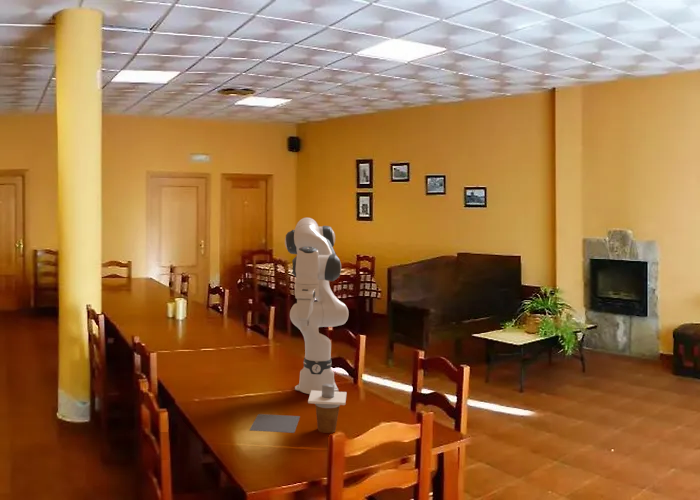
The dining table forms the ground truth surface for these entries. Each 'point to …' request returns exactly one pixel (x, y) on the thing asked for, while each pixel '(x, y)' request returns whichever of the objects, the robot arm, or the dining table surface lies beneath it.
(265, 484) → the dining table surface
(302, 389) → the robot arm
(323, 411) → the disposable coffee cup
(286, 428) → the mat
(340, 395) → the lid
